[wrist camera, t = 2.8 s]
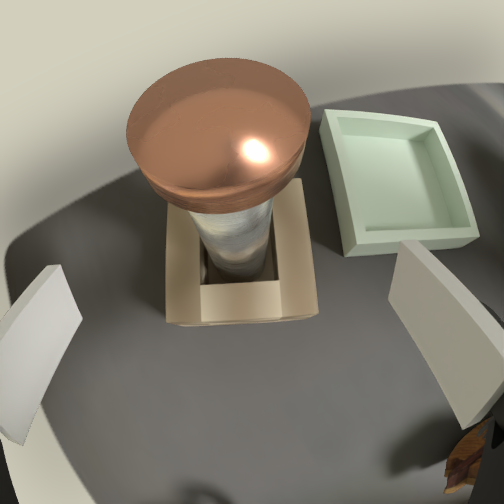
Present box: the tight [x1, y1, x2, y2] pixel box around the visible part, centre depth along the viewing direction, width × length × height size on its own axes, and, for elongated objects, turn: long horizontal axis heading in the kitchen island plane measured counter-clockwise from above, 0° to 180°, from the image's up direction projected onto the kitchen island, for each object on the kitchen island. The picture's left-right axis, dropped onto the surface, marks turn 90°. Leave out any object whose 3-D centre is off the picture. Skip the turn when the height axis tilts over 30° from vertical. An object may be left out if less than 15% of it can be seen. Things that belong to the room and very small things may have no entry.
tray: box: [319, 109, 480, 257], centre depth 25 cm, size 14×14×4 cm
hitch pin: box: [126, 58, 311, 283], centre depth 16 cm, size 6×6×17 cm
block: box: [166, 178, 319, 326], centre depth 22 cm, size 10×10×5 cm
